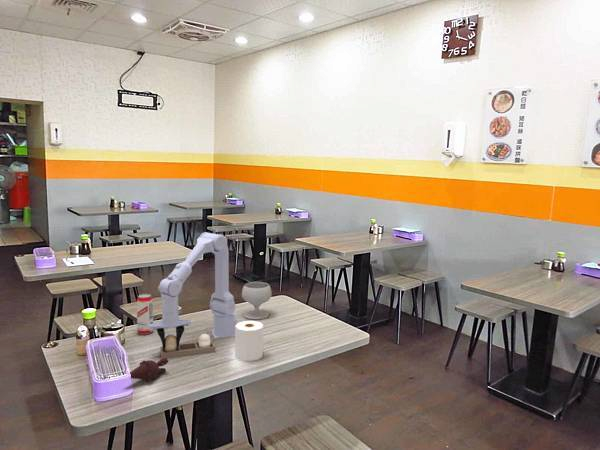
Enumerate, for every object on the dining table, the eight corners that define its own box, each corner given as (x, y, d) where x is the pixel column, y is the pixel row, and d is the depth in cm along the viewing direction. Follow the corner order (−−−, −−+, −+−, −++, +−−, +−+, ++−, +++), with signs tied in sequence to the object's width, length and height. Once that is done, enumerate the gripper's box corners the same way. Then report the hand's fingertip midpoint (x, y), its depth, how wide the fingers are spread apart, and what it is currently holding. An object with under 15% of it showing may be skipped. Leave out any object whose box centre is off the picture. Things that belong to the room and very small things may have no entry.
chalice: (276, 313, 211) (277, 283, 209) (261, 322, 199) (262, 290, 197) (251, 309, 217) (251, 279, 215) (235, 317, 204) (236, 286, 202)
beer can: (148, 336, 180) (147, 298, 178) (134, 334, 181) (133, 297, 179) (156, 330, 186) (155, 294, 184) (142, 329, 187) (141, 293, 185)
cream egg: (209, 346, 170) (209, 331, 169) (211, 351, 166) (211, 335, 165) (197, 348, 168) (197, 332, 168) (199, 352, 164) (199, 336, 164)
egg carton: (212, 345, 172) (212, 339, 172) (215, 353, 165) (215, 347, 165) (160, 352, 165) (159, 346, 164) (161, 360, 158) (161, 354, 158)
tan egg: (175, 347, 165) (175, 331, 164) (177, 352, 161) (177, 336, 161) (163, 349, 164) (163, 333, 163) (165, 353, 160) (165, 337, 159)
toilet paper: (266, 352, 168) (266, 321, 166) (258, 363, 158) (258, 331, 156) (240, 349, 170) (241, 319, 168) (231, 360, 160) (231, 328, 158)
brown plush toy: (132, 373, 134) (174, 362, 146) (121, 360, 139) (163, 350, 150) (128, 393, 136) (170, 380, 147) (117, 379, 140) (159, 368, 152)
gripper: (188, 305, 167) (188, 339, 169) (148, 310, 161) (149, 345, 163) (191, 311, 161) (192, 346, 162) (150, 316, 155) (151, 352, 157)
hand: (170, 346), depth 162 cm, fingers closed on tan egg, 4 cm apart
